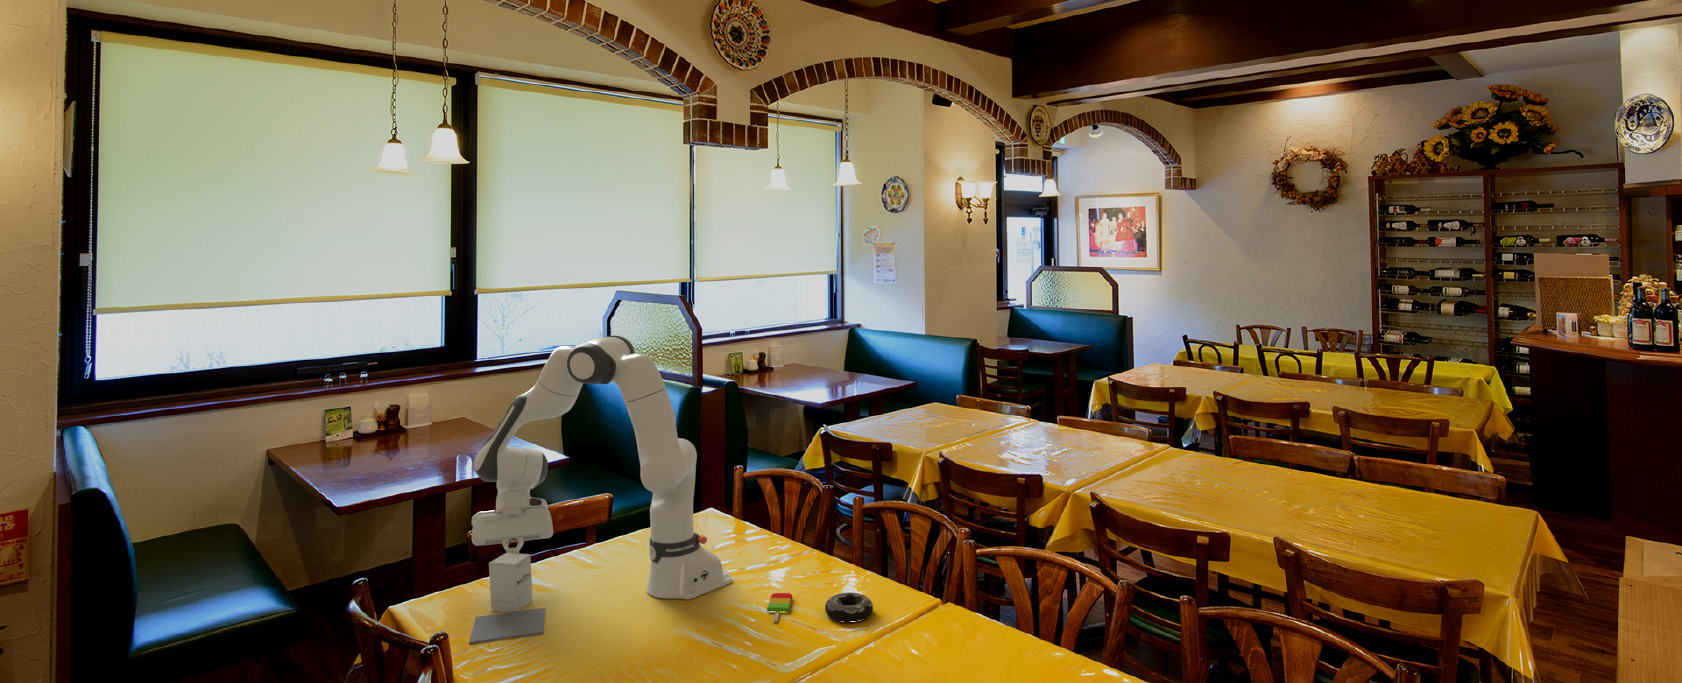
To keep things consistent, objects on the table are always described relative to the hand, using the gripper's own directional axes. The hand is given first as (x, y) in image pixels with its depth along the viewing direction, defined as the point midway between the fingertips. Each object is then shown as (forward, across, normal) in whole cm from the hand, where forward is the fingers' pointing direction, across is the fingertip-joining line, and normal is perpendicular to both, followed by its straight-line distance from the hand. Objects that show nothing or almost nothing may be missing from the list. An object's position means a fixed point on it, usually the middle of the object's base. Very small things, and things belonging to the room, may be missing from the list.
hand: (512, 555), depth 217 cm
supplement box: (+14, 0, +1) cm, 14 cm away
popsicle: (+32, +63, -17) cm, 73 cm away
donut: (+37, +79, -23) cm, 90 cm away
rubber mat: (+22, 0, -8) cm, 24 cm away
